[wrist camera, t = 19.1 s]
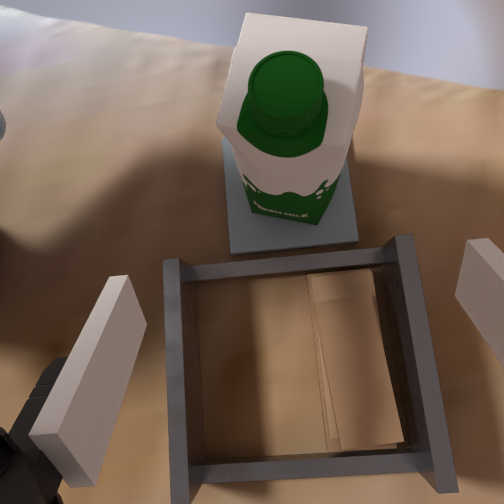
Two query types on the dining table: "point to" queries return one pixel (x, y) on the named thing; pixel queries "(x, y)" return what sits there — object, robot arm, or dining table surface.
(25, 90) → the dining table surface
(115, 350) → the robot arm
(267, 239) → the mat
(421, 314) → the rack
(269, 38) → the soya milk
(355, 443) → the offcut stack
